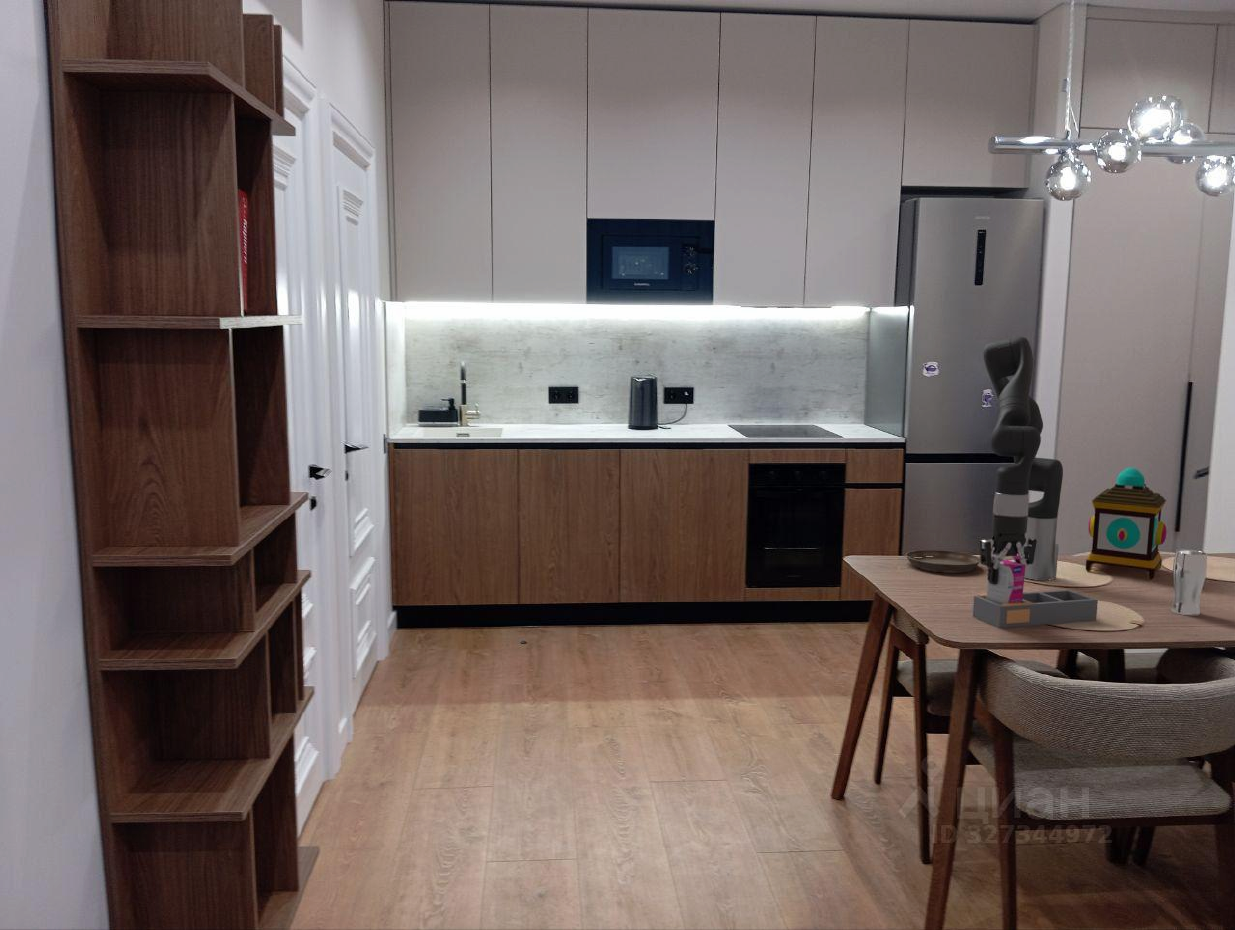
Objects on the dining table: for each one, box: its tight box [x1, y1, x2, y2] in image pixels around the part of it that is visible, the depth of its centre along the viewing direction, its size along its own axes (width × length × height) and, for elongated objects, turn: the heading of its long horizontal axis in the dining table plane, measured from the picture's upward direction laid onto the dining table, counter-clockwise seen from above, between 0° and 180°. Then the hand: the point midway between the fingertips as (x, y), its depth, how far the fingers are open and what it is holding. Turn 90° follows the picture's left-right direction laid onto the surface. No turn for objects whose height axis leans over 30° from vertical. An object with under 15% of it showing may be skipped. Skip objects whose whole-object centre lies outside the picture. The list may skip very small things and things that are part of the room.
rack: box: [972, 589, 1099, 629], centre depth 230 cm, size 27×10×5 cm, turn 106°
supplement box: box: [986, 559, 1026, 605], centre depth 228 cm, size 6×6×12 cm
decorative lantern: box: [1085, 467, 1168, 581], centre depth 280 cm, size 20×20×30 cm
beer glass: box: [1171, 548, 1208, 617], centre depth 237 cm, size 7×7×15 cm
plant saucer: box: [905, 549, 981, 574], centre depth 283 cm, size 21×21×3 cm
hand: (1005, 582), depth 228 cm, fingers closed on supplement box, 6 cm apart
